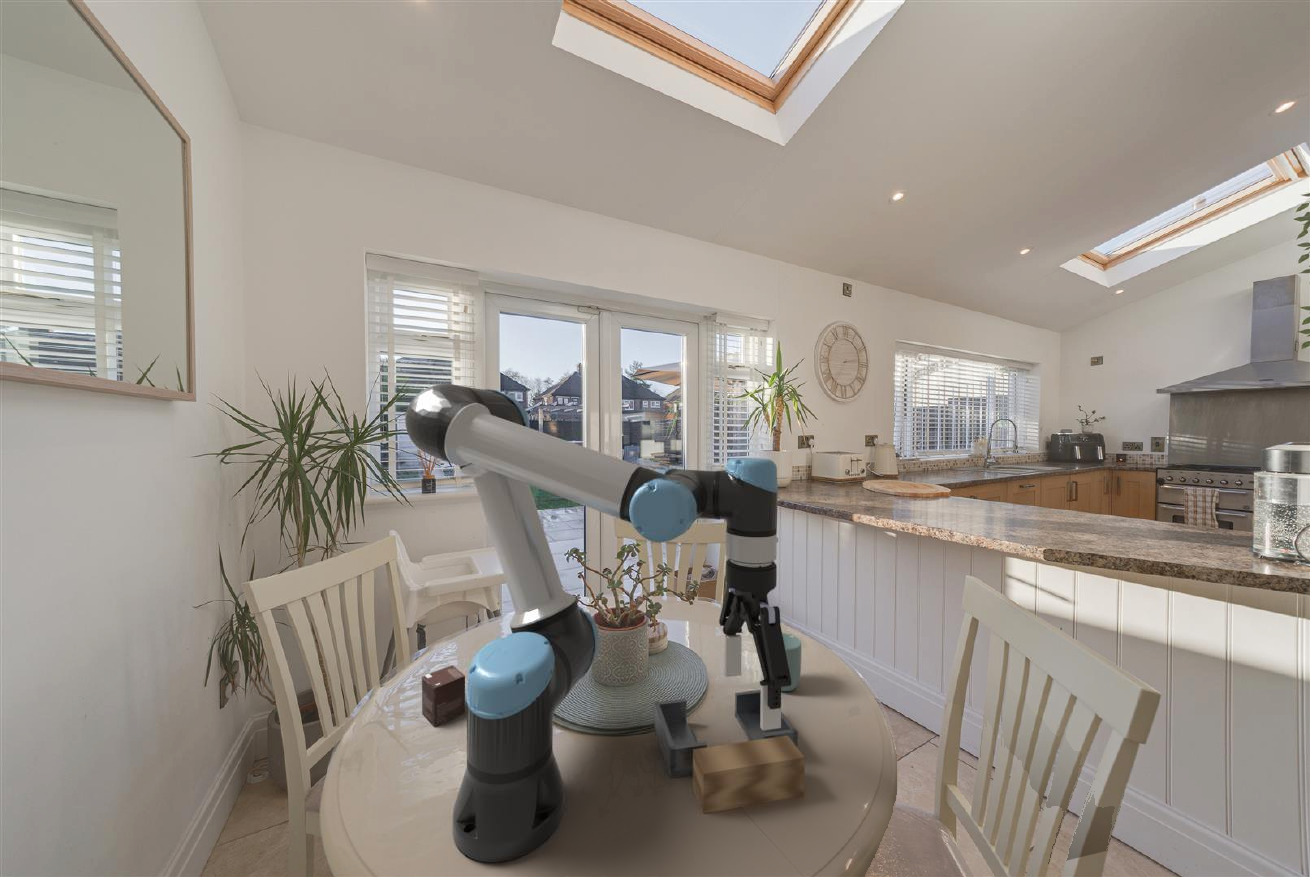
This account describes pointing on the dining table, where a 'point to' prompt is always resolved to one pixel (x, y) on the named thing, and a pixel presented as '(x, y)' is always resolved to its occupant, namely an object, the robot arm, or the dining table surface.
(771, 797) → the wooden block
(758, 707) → the bracket right
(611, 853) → the dining table surface
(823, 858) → the dining table surface
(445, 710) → the box
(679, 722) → the bracket left
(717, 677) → the dining table surface
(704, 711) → the dining table surface
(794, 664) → the cup
